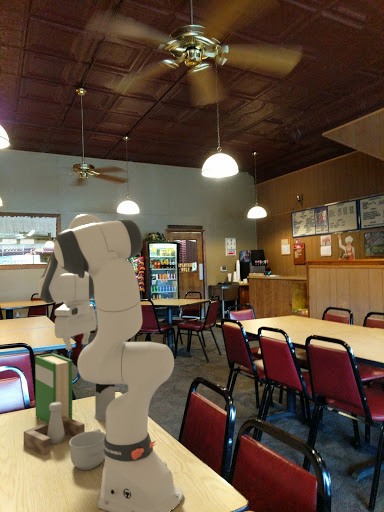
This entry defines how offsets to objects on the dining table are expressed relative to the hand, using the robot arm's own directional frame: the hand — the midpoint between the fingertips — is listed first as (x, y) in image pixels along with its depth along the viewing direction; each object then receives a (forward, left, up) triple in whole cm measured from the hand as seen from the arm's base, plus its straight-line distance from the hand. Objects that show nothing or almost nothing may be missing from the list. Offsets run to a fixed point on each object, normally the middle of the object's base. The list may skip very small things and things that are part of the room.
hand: (77, 346), depth 135 cm
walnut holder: (+2, +8, -31) cm, 32 cm away
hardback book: (+19, -3, -31) cm, 37 cm away
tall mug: (+7, -17, -31) cm, 36 cm away
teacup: (-20, +10, -31) cm, 39 cm away
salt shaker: (+1, +8, -31) cm, 32 cm away
